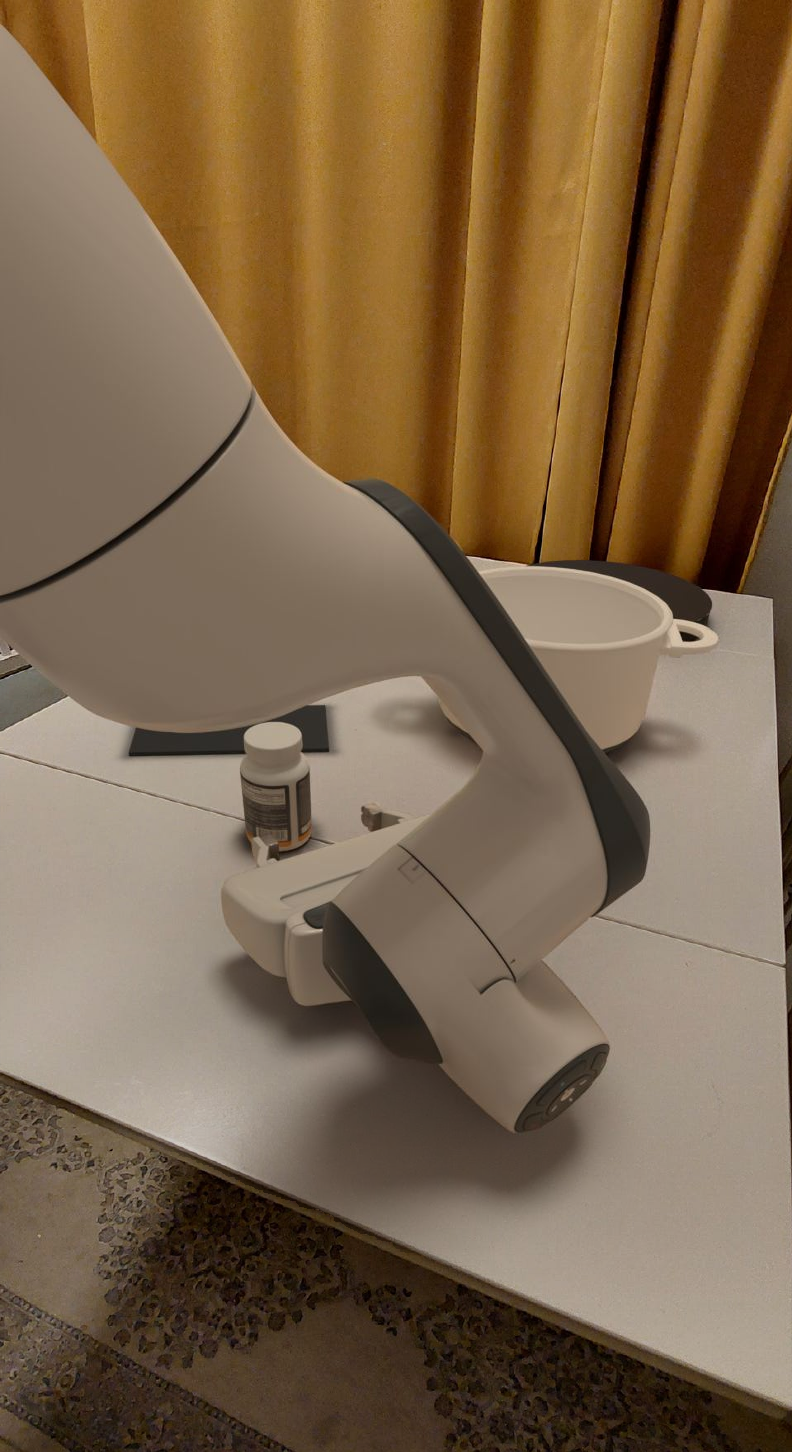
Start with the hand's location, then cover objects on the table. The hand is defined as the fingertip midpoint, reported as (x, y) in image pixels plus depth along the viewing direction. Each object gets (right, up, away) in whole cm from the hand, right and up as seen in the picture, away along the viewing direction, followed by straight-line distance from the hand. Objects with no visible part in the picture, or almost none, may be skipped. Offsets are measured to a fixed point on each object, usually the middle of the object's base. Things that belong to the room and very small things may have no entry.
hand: (316, 826), depth 65 cm
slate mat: (-11, +12, +24) cm, 29 cm away
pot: (+22, +13, +27) cm, 37 cm away
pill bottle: (-4, 0, +9) cm, 9 cm away
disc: (+36, +35, +57) cm, 75 cm away
